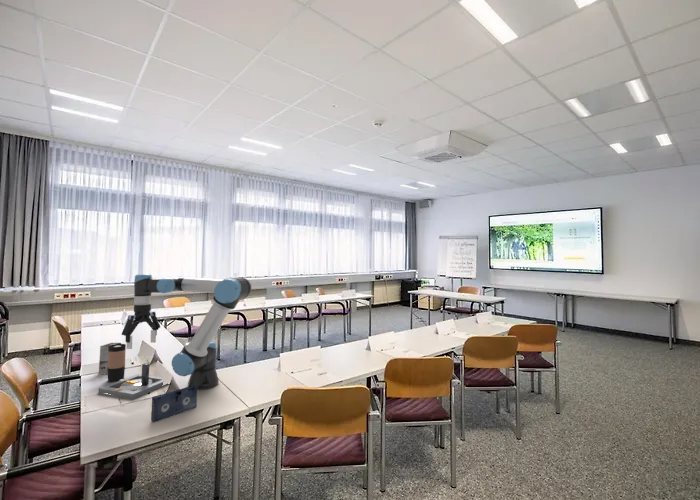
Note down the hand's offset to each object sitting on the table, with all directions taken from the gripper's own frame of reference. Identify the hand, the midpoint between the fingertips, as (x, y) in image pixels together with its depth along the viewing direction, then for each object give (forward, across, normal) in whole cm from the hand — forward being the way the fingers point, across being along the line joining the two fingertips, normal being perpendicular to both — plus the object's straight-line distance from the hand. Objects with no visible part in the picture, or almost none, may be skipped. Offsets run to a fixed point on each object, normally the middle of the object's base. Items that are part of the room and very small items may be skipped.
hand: (141, 345), depth 168 cm
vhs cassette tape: (+24, +14, +36) cm, 46 cm away
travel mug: (+23, -4, -22) cm, 32 cm away
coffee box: (+22, -15, -42) cm, 50 cm away
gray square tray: (+23, +1, -2) cm, 23 cm away
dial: (+21, +1, -2) cm, 21 cm away
